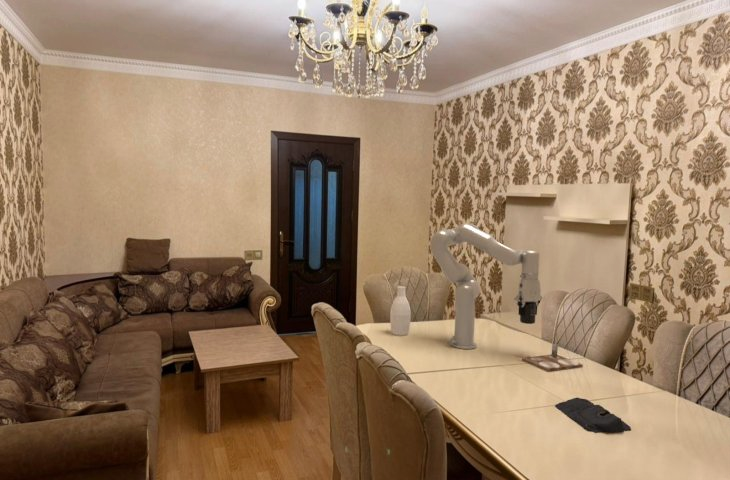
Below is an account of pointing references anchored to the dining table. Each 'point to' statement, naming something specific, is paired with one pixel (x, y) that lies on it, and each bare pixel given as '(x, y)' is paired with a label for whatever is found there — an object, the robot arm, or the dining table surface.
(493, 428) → the dining table surface
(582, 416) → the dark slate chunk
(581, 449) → the dining table surface
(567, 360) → the board
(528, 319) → the supplement bottle
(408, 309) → the bottle
